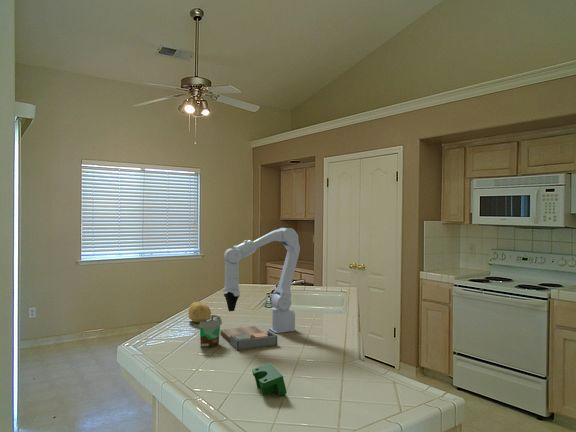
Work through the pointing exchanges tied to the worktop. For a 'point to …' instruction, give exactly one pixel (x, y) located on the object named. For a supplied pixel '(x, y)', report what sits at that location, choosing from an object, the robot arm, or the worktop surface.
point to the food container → (210, 332)
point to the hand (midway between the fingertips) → (231, 310)
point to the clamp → (269, 379)
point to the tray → (254, 342)
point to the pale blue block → (242, 337)
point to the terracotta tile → (258, 335)
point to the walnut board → (239, 332)
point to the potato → (199, 312)
